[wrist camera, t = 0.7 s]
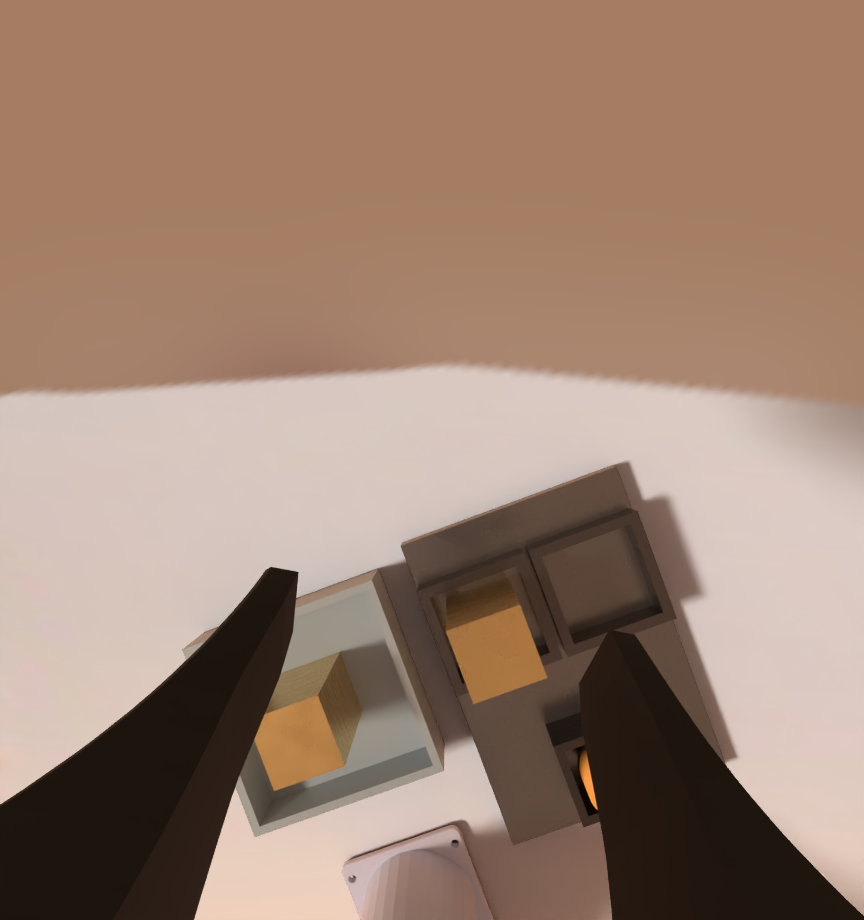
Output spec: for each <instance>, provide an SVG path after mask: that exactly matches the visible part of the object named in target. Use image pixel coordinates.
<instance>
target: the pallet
mask: <svg viewBox="0 0 864 920" xmlns="http://www.w3.org/2000/svg"><path fill="white" fill-rule="evenodd" d="M401 548H402V551H403V553H404V556H405V559H406V561H407V564H408V567H409V569H410V572H411V575H412V577H413V580H414V582H415V585H416V588H417V594H418V596H419V599H420V602H421V604H422V607H423V610H424V612H425V615H426V618H427V620H428V623H429V626H430V628H431V631H432V634H433V636H434V639H435V641H436V644H437V647H438V649H439V652H440V655H441V657H442V660H443V663H444V665H445V668H446V671H447V673H448V676H449V679H450V681H451V684H452V687H453V689H454V692H455V694H456V697H458V699H459V702H460V704H461V707H462V710H463V712H464V715H465V718H466V720H467V723H468V726H469V728H470V731H471V734H472V736H473V739H474V742H475V744H476V747H477V749H478V752H479V755H480V757H481V760H482V763H483V765H484V768H485V771H486V773H487V776H488V779H489V781H490V784H491V787H492V789H493V792H494V795H495V797H496V800H497V803H498V805H499V808H500V810H501V813H502V816H503V818H504V821H505V824H506V826H507V829H508V832H509V834H510V837H511V840H512V842H513V845H515V844H518V843H521V842H524V841H527V840H529V839H532V838H535V837H538V836H541V835H544V834H547V833H550V832H553V831H556V830H559V829H561V828H564V827H567V826H570V825H573V824H576V823H579V822H582V825H583V827H586V826H589V825H592V824H594V823H597V822H600V819H599V814H598V810H597V809H596V808H595V807H594V806H593V804H592V802H591V800H590V798H589V795H588V793H587V790H586V788H585V785H584V783H583V780H582V778H581V775H580V773H579V770H578V765H577V760H578V755H579V752H580V750H581V748H582V747H583V746H584V745H585V742H584V737H583V731H582V722H581V710H580V694H579V682H580V681H581V679H582V677H583V675H584V674H585V672H586V670H587V668H588V666H589V665H590V663H591V661H592V659H593V658H594V656H595V654H596V652H597V650H598V649H599V647H600V645H601V643H602V642H603V640H604V638H605V636H606V634H607V633H608V631H609V630H614V631H619V632H625V633H630V634H635V636H636V637H637V639H638V640H639V641H640V643H641V644H642V646H643V647H644V649H645V650H646V652H647V653H648V655H649V656H650V658H651V660H652V661H653V663H654V664H655V666H656V667H657V669H658V670H659V672H660V673H661V675H662V676H663V678H664V679H665V681H666V682H667V684H668V685H669V687H670V688H671V690H672V691H673V693H674V694H675V696H676V697H677V699H678V700H679V702H680V703H681V705H682V706H683V707H684V709H685V710H686V712H687V713H688V715H689V716H690V717H691V719H692V720H693V722H694V723H695V725H696V726H697V727H698V729H699V730H700V732H701V733H702V734H703V736H704V737H705V738H706V740H707V741H708V743H709V744H710V745H711V747H712V748H713V749H714V751H715V752H716V753H717V755H718V756H719V757H720V758H721V760H722V761H723V762H724V764H725V761H724V759H723V756H722V753H721V750H720V748H719V745H718V742H717V740H716V737H715V734H714V731H713V729H712V726H711V723H710V721H709V718H708V715H707V712H706V710H705V707H704V704H703V701H702V699H701V696H700V693H699V691H698V688H697V685H696V682H695V680H694V677H693V674H692V672H691V669H690V666H689V663H688V661H687V658H686V655H685V652H684V650H683V647H682V644H681V642H680V639H679V636H678V633H677V631H676V628H675V625H674V623H673V620H674V619H677V618H676V615H675V613H674V610H673V607H672V604H671V602H670V599H669V596H668V594H667V591H666V588H665V585H664V583H663V580H662V577H661V574H660V572H659V569H658V566H657V564H656V561H655V558H654V555H653V553H652V550H651V547H650V545H649V542H648V539H647V536H646V534H645V531H644V528H643V525H642V523H641V520H640V517H639V515H638V512H637V511H635V510H633V509H632V508H631V506H630V503H629V500H628V497H627V495H626V492H625V489H624V487H623V484H622V481H621V478H620V476H619V473H618V470H617V467H616V466H609V467H607V468H604V469H601V470H598V471H596V472H593V473H590V474H588V475H585V476H582V477H579V478H577V479H574V480H571V481H569V482H566V483H563V484H560V485H558V486H555V487H552V488H550V489H547V490H544V491H541V492H539V493H536V494H533V495H531V496H528V497H525V498H522V499H520V500H517V501H514V502H512V503H509V504H506V505H503V506H501V507H498V508H495V509H493V510H490V511H487V512H484V513H482V514H479V515H476V516H474V517H471V518H468V519H465V520H463V521H460V522H457V523H455V524H452V525H449V526H446V527H444V528H441V529H438V530H436V531H433V532H430V533H427V534H425V535H422V536H419V537H417V538H414V539H411V540H408V541H406V542H403V543H402V544H401ZM505 576H508V579H509V581H510V583H511V585H512V588H513V590H514V592H515V594H516V597H517V599H518V601H519V603H520V606H521V608H522V611H523V614H524V616H525V619H526V622H527V624H528V627H529V630H530V633H531V635H532V638H533V641H534V643H535V646H536V649H537V651H538V654H539V657H540V659H541V662H542V665H543V667H544V670H545V673H546V675H547V678H546V679H543V680H540V681H538V682H535V683H532V684H529V685H526V686H523V687H521V688H518V689H515V690H512V691H509V692H507V693H504V694H501V695H498V696H495V697H492V698H490V699H487V700H484V701H481V702H478V703H476V704H473V702H472V699H471V697H470V694H469V691H468V689H467V686H466V683H465V681H464V678H463V675H462V673H461V670H460V667H459V665H458V662H457V659H456V657H455V654H454V651H453V649H452V646H451V643H450V641H449V638H448V636H447V633H446V598H448V597H450V596H453V595H456V594H459V593H461V592H464V591H467V590H470V589H472V588H475V587H478V586H481V585H483V584H486V583H489V582H492V581H494V580H497V579H500V578H503V577H505ZM725 765H726V764H725Z"/></svg>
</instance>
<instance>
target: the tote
mask: <svg viewBox="0 0 864 920" xmlns="http://www.w3.org/2000/svg"><path fill="white" fill-rule="evenodd" d="M217 628H218V627H217ZM217 628H214V629H212V630H209V631H206V632H204V633H203V634H202V635H200V636H199V637H198V638H196V639H195V640H194V641H193V642H191V643H190V644H189V645H187V646H186V647H185V648H184V649H182V650H183V653H184V655H185V658H186V660H187V659H188V658H189V657H190V656H191V655H192V654H193V653H194V652H195V651H196V650H197V649H198V648H199V647H200V646H201V645H202V644H203V643H204V642H205V641H206V640H207V639H208V638H209V637H210V636H211V635H212V634H213V633H214V632H215V630H216V629H217ZM337 652H341V655H342V658H343V660H344V663H345V665H346V668H347V671H348V673H349V676H350V679H351V681H352V684H353V686H354V689H355V692H356V694H357V697H358V700H359V702H360V705H361V707H362V710H363V711H362V714H361V717H360V720H359V723H358V727H357V730H356V733H355V736H354V739H353V742H352V746H351V749H350V752H349V755H348V758H347V761H346V764H345V766H344V767H341V768H338V769H336V770H333V771H330V772H327V773H324V774H321V775H319V776H316V777H313V778H310V779H307V780H304V781H302V782H299V783H296V784H293V785H290V786H288V787H285V788H282V789H279V790H276V791H274V790H273V787H272V784H271V782H270V779H269V777H268V774H267V771H266V769H265V766H264V764H263V761H262V759H261V756H260V753H259V751H258V748H257V746H256V743H255V740H254V741H253V744H252V746H251V749H250V751H249V754H248V756H247V759H246V761H245V763H244V766H243V768H242V771H241V773H240V776H239V778H238V781H237V784H236V790H237V792H238V795H239V797H240V800H241V803H242V805H243V808H244V810H245V813H246V815H247V818H248V821H249V823H250V826H251V828H252V831H253V834H254V836H255V837H257V836H260V835H262V834H265V833H268V832H271V831H274V830H277V829H280V828H282V827H285V826H288V825H291V824H294V823H297V822H299V821H302V820H305V819H308V818H311V817H314V816H317V815H319V814H322V813H325V812H328V811H331V810H334V809H337V808H339V807H342V806H345V805H348V804H351V803H354V802H356V801H359V800H362V799H365V798H368V797H371V796H374V795H376V794H379V793H382V792H385V791H388V790H391V789H394V788H396V787H399V786H402V785H405V784H408V783H411V782H414V781H416V780H419V779H422V778H425V777H428V776H431V775H433V774H436V773H439V772H442V771H444V741H443V738H442V736H441V733H440V730H439V728H438V725H437V722H436V720H435V717H434V715H433V712H432V709H431V707H430V704H429V701H428V699H427V696H426V693H425V691H424V688H423V685H422V683H421V680H420V678H419V675H418V672H417V670H416V667H415V664H414V662H413V659H412V656H411V654H410V651H409V648H408V646H407V643H406V641H405V638H404V635H403V633H402V630H401V627H400V625H399V622H398V619H397V617H396V614H395V611H394V609H393V606H392V604H391V601H390V598H389V596H388V593H387V590H386V588H385V585H384V582H383V580H382V577H381V574H380V572H379V569H375V570H372V571H370V572H367V573H364V574H361V575H359V576H356V577H353V578H351V579H348V580H345V581H342V582H340V583H337V584H334V585H332V586H329V587H326V588H323V589H321V590H318V591H315V592H312V593H310V594H307V595H304V596H302V597H299V598H296V604H295V616H294V627H293V634H292V637H291V641H290V644H289V648H288V651H287V655H286V658H285V661H284V665H283V668H282V671H281V673H282V672H285V671H288V670H291V669H293V668H296V667H299V666H302V665H304V664H307V663H310V662H313V661H315V660H318V659H321V658H324V657H326V656H329V655H332V654H335V653H337Z"/></svg>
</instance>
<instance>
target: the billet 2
mask: <svg viewBox="0 0 864 920" xmlns="http://www.w3.org/2000/svg"><path fill="white" fill-rule="evenodd" d="M446 633H447V636H448V638H449V641H450V643H451V646H452V649H453V651H454V654H455V657H456V659H457V662H458V665H459V667H460V670H461V673H462V675H463V678H464V681H465V683H466V686H467V689H468V691H469V694H470V697H471V699H472V702H473V704H476V703H478V702H481V701H484V700H487V699H490V698H492V697H495V696H498V695H501V694H504V693H507V692H509V691H512V690H515V689H518V688H521V687H523V686H526V685H529V684H532V683H535V682H538V681H540V680H543V679H546V678H547V675H546V673H545V670H544V667H543V665H542V662H541V659H540V657H539V654H538V651H537V649H536V646H535V643H534V641H533V638H532V635H531V633H530V630H529V627H528V624H527V622H526V619H525V616H524V614H523V611H522V608H521V606H520V603H519V601H518V599H517V597H516V594H515V592H514V590H513V588H512V585H511V583H510V581H509V579H508V576H505V577H503V578H500V579H497V580H494V581H492V582H489V583H486V584H483V585H481V586H478V587H475V588H472V589H470V590H467V591H464V592H461V593H459V594H456V595H453V596H450V597H448V598H446Z"/></svg>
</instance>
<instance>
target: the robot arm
mask: <svg viewBox="0 0 864 920" xmlns="http://www.w3.org/2000/svg"><path fill="white" fill-rule="evenodd" d="M297 582H298V572H296V571H290V570H285V569H279V568H274V567H270V568H269V569H267V570H266V571H265V572H264V573H263V575H262V576H261V578H260V579H259V580H258V582H257V583H256V584H255V585H254V587H253V588H252V589H251V590H250V592H249V593H248V594H247V595H246V597H245V598H244V599H243V600H242V601H241V603H240V604H239V605H238V606H237V607H236V608H235V610H234V611H233V612H232V613H231V614H230V615H229V616H228V617H227V619H226V620H225V621H224V622H223V623H222V624H221V625H220V626H219V627H218V628H217V629H216V630H215V632H214V633H213V634H212V635H211V636H210V637H209V638H208V639H207V640H206V641H205V642H204V643H203V644H202V645H201V646H200V647H199V648H198V649H197V650H196V651H195V652H194V653H193V654H192V655H191V656H190V657H189V658H188V659H187V660H186V661H185V662H184V663H183V664H182V665H181V666H180V667H179V668H178V669H177V670H176V671H175V672H174V673H173V674H171V675H170V676H169V677H168V678H167V679H166V680H165V681H164V682H163V683H162V684H161V685H159V686H158V687H157V688H156V689H155V690H154V691H153V692H152V693H150V694H149V695H148V696H147V697H146V698H145V699H143V700H142V701H141V702H140V703H139V704H137V705H136V706H135V707H134V708H133V709H132V710H130V711H129V712H128V713H127V714H126V715H124V716H123V717H122V718H120V719H119V720H118V721H117V722H115V723H114V724H113V725H112V726H110V727H109V728H108V729H107V730H105V731H104V732H103V733H101V734H100V735H99V736H98V737H96V738H95V739H94V740H92V741H91V742H90V743H88V744H87V745H86V746H84V747H83V748H82V749H80V750H79V751H78V752H76V753H75V754H74V755H72V756H71V757H69V758H68V759H66V760H65V761H64V762H62V763H61V764H59V765H58V766H56V767H55V768H54V769H52V770H51V771H49V772H48V773H46V774H45V775H43V776H42V777H41V778H39V779H38V780H36V781H35V782H33V783H32V784H31V785H29V786H28V787H26V788H25V789H23V790H22V791H20V792H19V793H17V794H16V795H14V796H13V797H11V798H10V799H8V800H7V801H5V802H4V803H2V804H0V920H194V918H195V914H196V911H197V908H198V904H199V901H200V897H201V894H202V891H203V888H204V884H205V881H206V878H207V875H208V871H209V868H210V865H211V862H212V858H213V855H214V852H215V848H216V845H217V842H218V839H219V836H220V833H221V829H222V826H223V823H224V820H225V817H226V813H227V810H228V807H229V804H230V801H231V798H232V795H233V792H234V789H235V787H236V784H237V781H238V778H239V776H240V773H241V771H242V768H243V766H244V763H245V761H246V759H247V756H248V754H249V751H250V749H251V746H252V744H253V741H254V739H255V737H256V734H257V732H258V729H259V727H260V724H261V722H262V720H263V717H264V715H265V712H266V710H267V707H268V705H269V702H270V700H271V697H272V695H273V693H274V690H275V688H276V685H277V683H278V680H279V678H280V675H281V671H282V668H283V665H284V661H285V658H286V655H287V651H288V648H289V644H290V641H291V637H292V634H293V627H294V616H295V604H296V593H297ZM579 694H580V710H581V722H582V731H583V737H584V742H585V747H586V753H587V758H588V763H589V768H590V773H591V778H592V784H593V789H594V794H595V799H596V804H597V809H598V814H599V819H600V824H601V829H602V834H603V841H604V847H605V853H606V860H607V870H608V880H609V889H610V899H611V908H612V920H864V916H863V915H862V914H861V913H860V912H859V911H858V910H857V909H856V908H855V907H854V906H853V905H851V904H850V903H849V902H848V901H847V900H846V899H845V898H844V897H843V896H842V895H841V894H840V893H839V892H838V891H837V890H836V889H835V888H834V887H833V886H832V885H831V884H830V883H829V882H828V881H827V880H826V879H825V878H824V877H823V876H822V875H821V874H820V872H819V871H818V870H817V869H816V868H815V867H814V866H813V865H812V864H811V863H810V862H809V861H808V860H807V859H806V858H805V857H804V856H803V855H802V854H801V853H800V852H799V850H798V849H797V848H796V847H795V846H794V845H793V844H792V843H791V842H790V841H789V840H788V839H787V838H786V836H785V835H784V834H783V833H782V832H781V831H780V830H779V829H778V828H777V826H776V825H775V824H774V823H773V822H772V821H771V820H770V818H769V817H768V816H767V815H766V814H765V813H764V811H763V810H762V809H761V808H760V807H759V806H758V804H757V803H756V802H755V801H754V800H753V799H752V797H751V796H750V795H749V794H748V793H747V791H746V790H745V789H744V788H743V787H742V785H741V784H740V783H739V782H738V780H737V779H736V778H735V777H734V775H733V774H732V773H731V771H730V770H729V769H728V768H727V766H726V765H725V764H724V762H723V761H722V760H721V758H720V757H719V756H718V755H717V753H716V752H715V751H714V749H713V748H712V747H711V745H710V744H709V743H708V741H707V740H706V738H705V737H704V736H703V734H702V733H701V732H700V730H699V729H698V727H697V726H696V725H695V723H694V722H693V720H692V719H691V717H690V716H689V715H688V713H687V712H686V710H685V709H684V707H683V706H682V705H681V703H680V702H679V700H678V699H677V697H676V696H675V694H674V693H673V691H672V690H671V688H670V687H669V685H668V684H667V682H666V681H665V679H664V678H663V676H662V675H661V673H660V672H659V670H658V669H657V667H656V666H655V664H654V663H653V661H652V660H651V658H650V656H649V655H648V653H647V652H646V650H645V649H644V647H643V646H642V644H641V643H640V641H639V640H638V639H637V637H636V636H635V634H630V633H625V632H619V631H614V630H609V631H608V633H607V634H606V636H605V638H604V640H603V642H602V643H601V645H600V647H599V649H598V650H597V652H596V654H595V656H594V658H593V659H592V661H591V663H590V665H589V666H588V668H587V670H586V672H585V674H584V675H583V677H582V679H581V681H580V682H579ZM453 840H458V841H459V842H457V843H453V842H452V841H453ZM342 874H343V877H344V879H345V882H346V885H347V887H348V890H349V892H350V895H351V898H352V900H353V903H354V905H355V908H356V911H357V913H358V916H359V918H360V920H494V919H493V916H492V914H491V911H490V908H489V906H488V903H487V901H486V898H485V895H484V893H483V890H482V887H481V885H480V882H479V879H478V877H477V874H476V872H475V869H474V866H473V864H472V861H471V858H470V856H469V853H468V850H467V848H466V845H465V843H464V840H463V837H462V835H461V832H460V830H459V828H458V827H457V826H455V825H449V826H446V827H443V828H440V829H437V830H435V831H432V832H429V833H426V834H423V835H420V836H417V837H414V838H412V839H409V840H406V841H403V842H400V843H397V844H394V845H391V846H388V847H386V848H383V849H380V850H377V851H374V852H371V853H368V854H365V855H362V856H360V857H357V858H354V859H351V860H348V861H346V862H345V863H344V864H343V868H342ZM351 875H354V876H355V877H356V878H351V877H350V876H351Z"/></svg>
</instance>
